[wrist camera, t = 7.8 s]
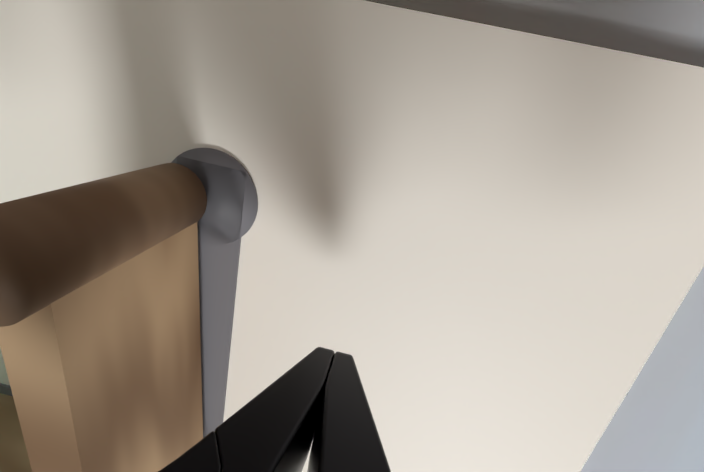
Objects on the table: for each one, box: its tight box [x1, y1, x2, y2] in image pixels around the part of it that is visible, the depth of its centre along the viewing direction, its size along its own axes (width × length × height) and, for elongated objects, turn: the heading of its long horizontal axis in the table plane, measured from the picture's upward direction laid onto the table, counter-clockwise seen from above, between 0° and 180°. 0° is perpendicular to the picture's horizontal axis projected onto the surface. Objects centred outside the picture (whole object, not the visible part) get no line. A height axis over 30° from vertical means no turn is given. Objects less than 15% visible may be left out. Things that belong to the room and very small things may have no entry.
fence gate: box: [0, 163, 207, 472], centre depth 9 cm, size 10×2×5 cm, turn 173°
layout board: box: [0, 0, 704, 472], centre depth 13 cm, size 25×24×1 cm
